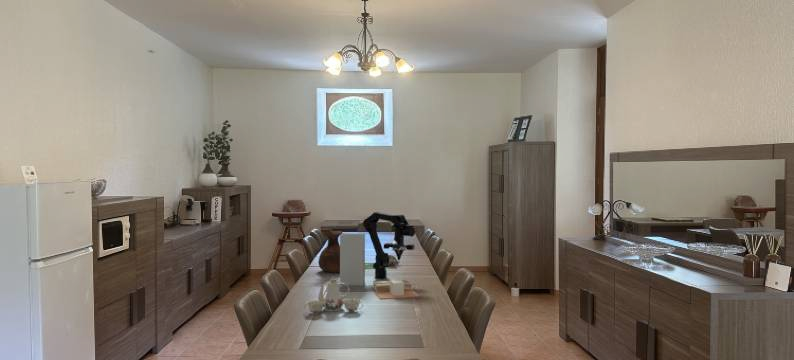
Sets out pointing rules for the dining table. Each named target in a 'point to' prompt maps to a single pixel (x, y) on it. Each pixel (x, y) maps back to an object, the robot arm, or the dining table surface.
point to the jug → (331, 252)
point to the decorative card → (391, 264)
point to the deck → (388, 286)
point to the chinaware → (332, 299)
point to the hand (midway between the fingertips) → (399, 260)
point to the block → (397, 287)
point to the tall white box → (352, 259)
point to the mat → (389, 296)
